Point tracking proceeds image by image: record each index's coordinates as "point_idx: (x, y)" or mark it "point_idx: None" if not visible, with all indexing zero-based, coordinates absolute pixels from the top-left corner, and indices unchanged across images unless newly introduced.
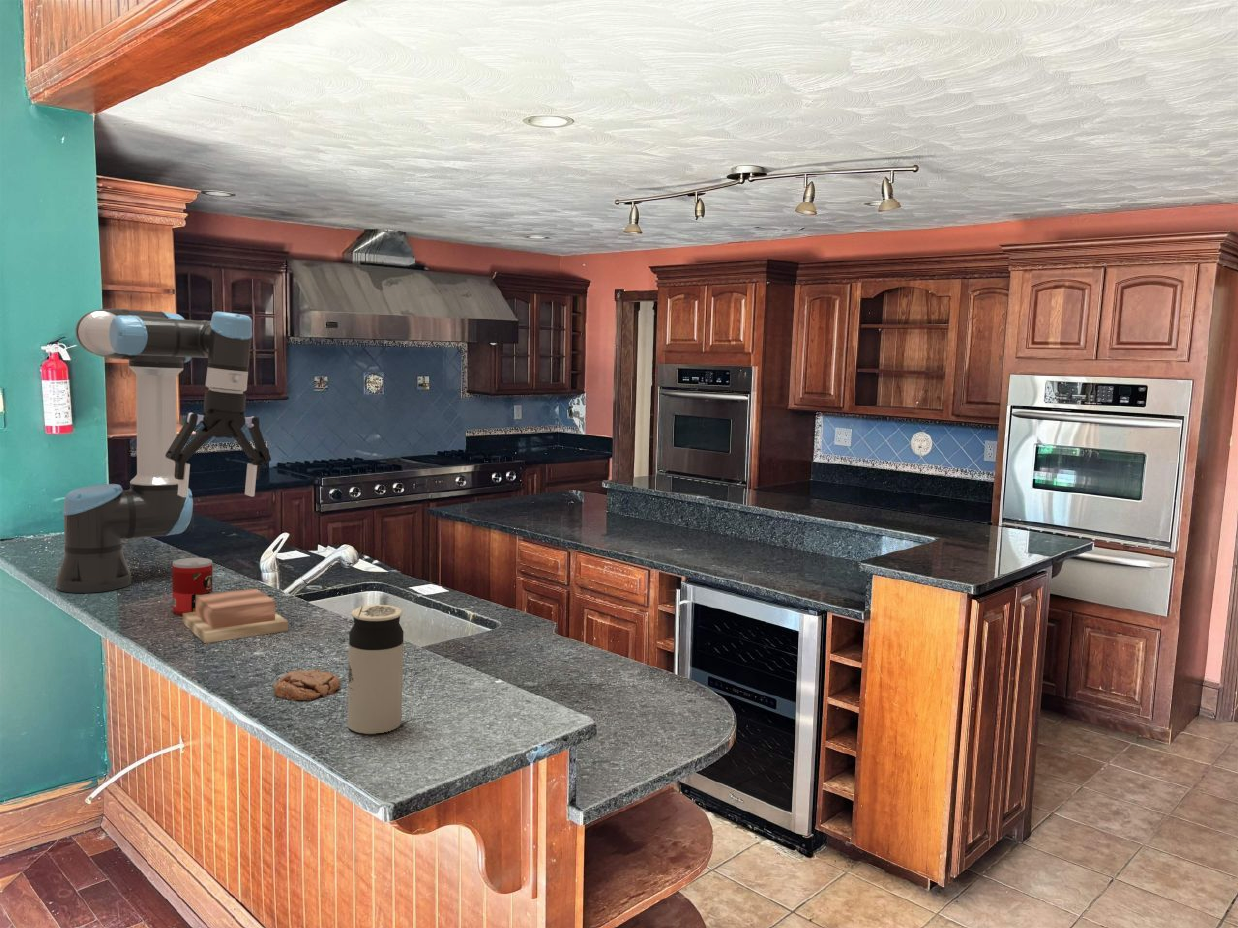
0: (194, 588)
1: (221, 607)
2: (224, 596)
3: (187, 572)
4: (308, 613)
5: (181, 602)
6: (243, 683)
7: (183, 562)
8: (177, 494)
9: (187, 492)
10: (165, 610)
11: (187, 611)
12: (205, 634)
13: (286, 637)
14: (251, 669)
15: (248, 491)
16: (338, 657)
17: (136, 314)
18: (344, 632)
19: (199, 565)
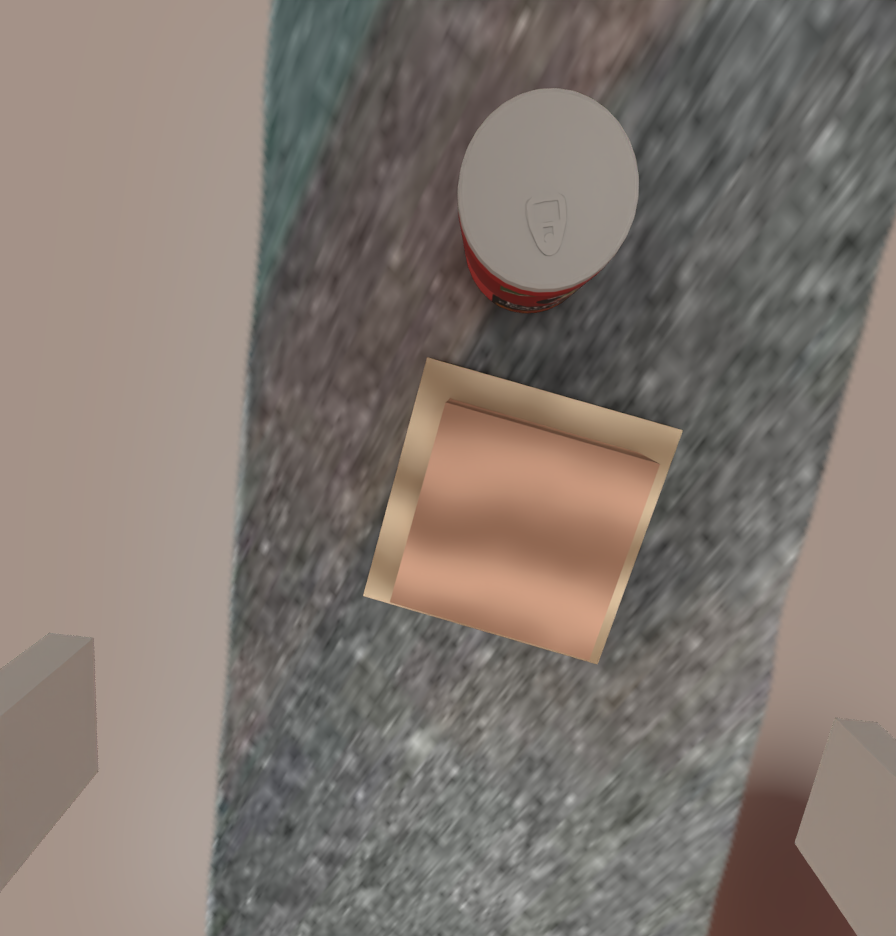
0: (502, 295)
1: (419, 606)
2: (507, 489)
3: (482, 267)
4: (760, 544)
5: (470, 268)
6: (281, 877)
7: (523, 149)
8: (46, 635)
9: (60, 816)
10: None
11: (482, 291)
12: (365, 594)
13: (548, 693)
14: (340, 822)
15: (845, 827)
16: (528, 898)
17: None
18: (684, 767)
19: (528, 287)
